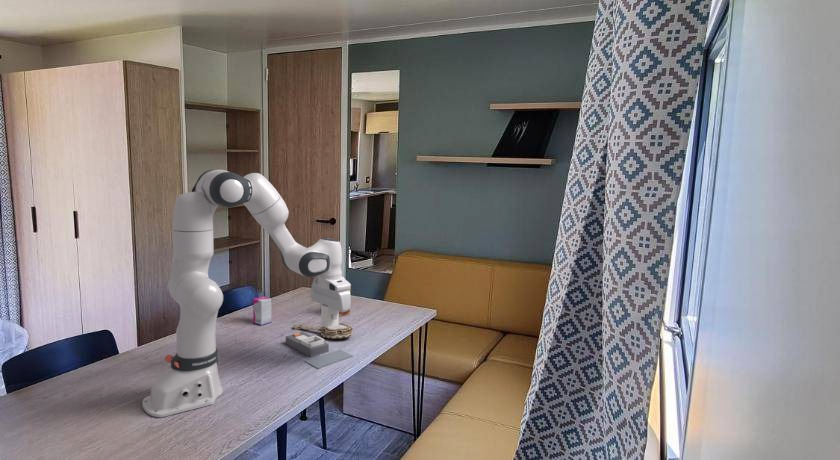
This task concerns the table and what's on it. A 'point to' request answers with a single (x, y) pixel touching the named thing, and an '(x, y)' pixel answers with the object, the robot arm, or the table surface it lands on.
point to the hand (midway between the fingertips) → (329, 317)
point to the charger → (328, 317)
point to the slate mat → (328, 359)
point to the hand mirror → (330, 330)
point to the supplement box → (262, 311)
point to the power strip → (307, 344)
